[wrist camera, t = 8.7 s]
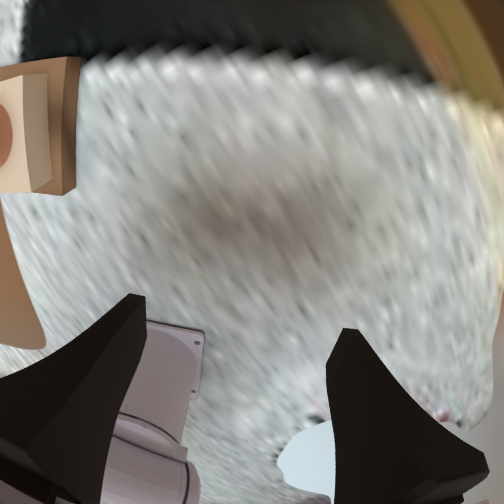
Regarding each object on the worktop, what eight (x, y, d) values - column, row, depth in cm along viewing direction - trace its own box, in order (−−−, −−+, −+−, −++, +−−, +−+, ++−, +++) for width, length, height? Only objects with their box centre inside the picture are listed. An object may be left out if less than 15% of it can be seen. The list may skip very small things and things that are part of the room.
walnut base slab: (80, 183, 20) (62, 195, 18) (-2, 176, 20) (-21, 186, 18) (86, 57, 16) (66, 56, 14) (-2, 70, 15) (-23, 73, 13)
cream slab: (53, 179, 17) (31, 192, 15) (-12, 182, 17) (-33, 194, 15) (47, 72, 14) (22, 74, 12) (-20, 92, 14) (-44, 98, 12)
